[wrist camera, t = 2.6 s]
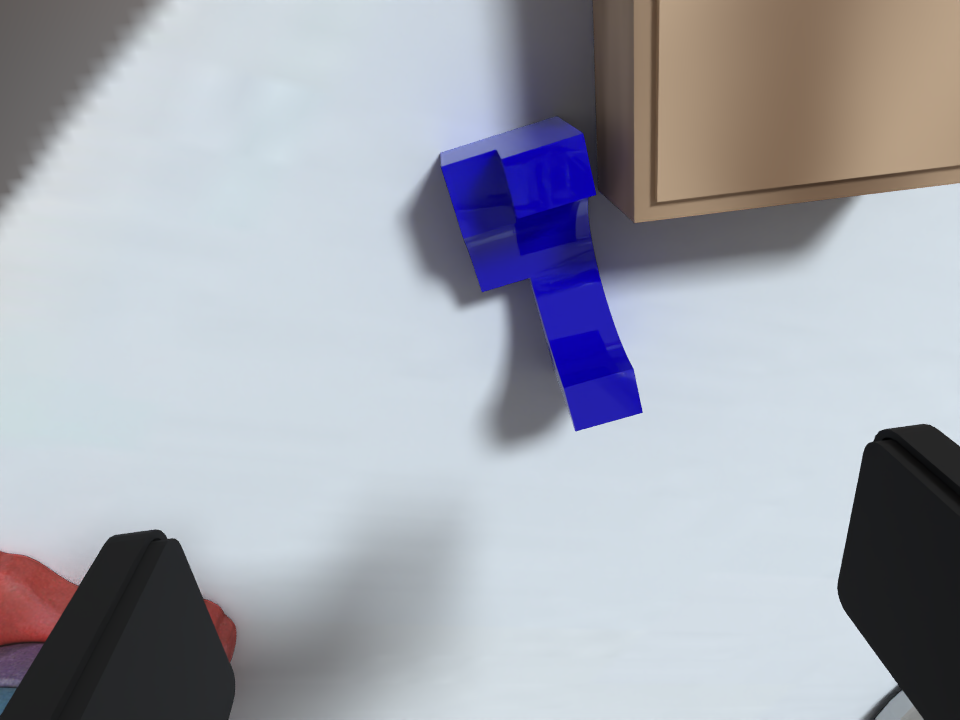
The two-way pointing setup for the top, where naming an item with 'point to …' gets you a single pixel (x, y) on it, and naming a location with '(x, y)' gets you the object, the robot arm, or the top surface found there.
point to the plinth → (772, 101)
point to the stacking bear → (48, 617)
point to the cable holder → (545, 254)
